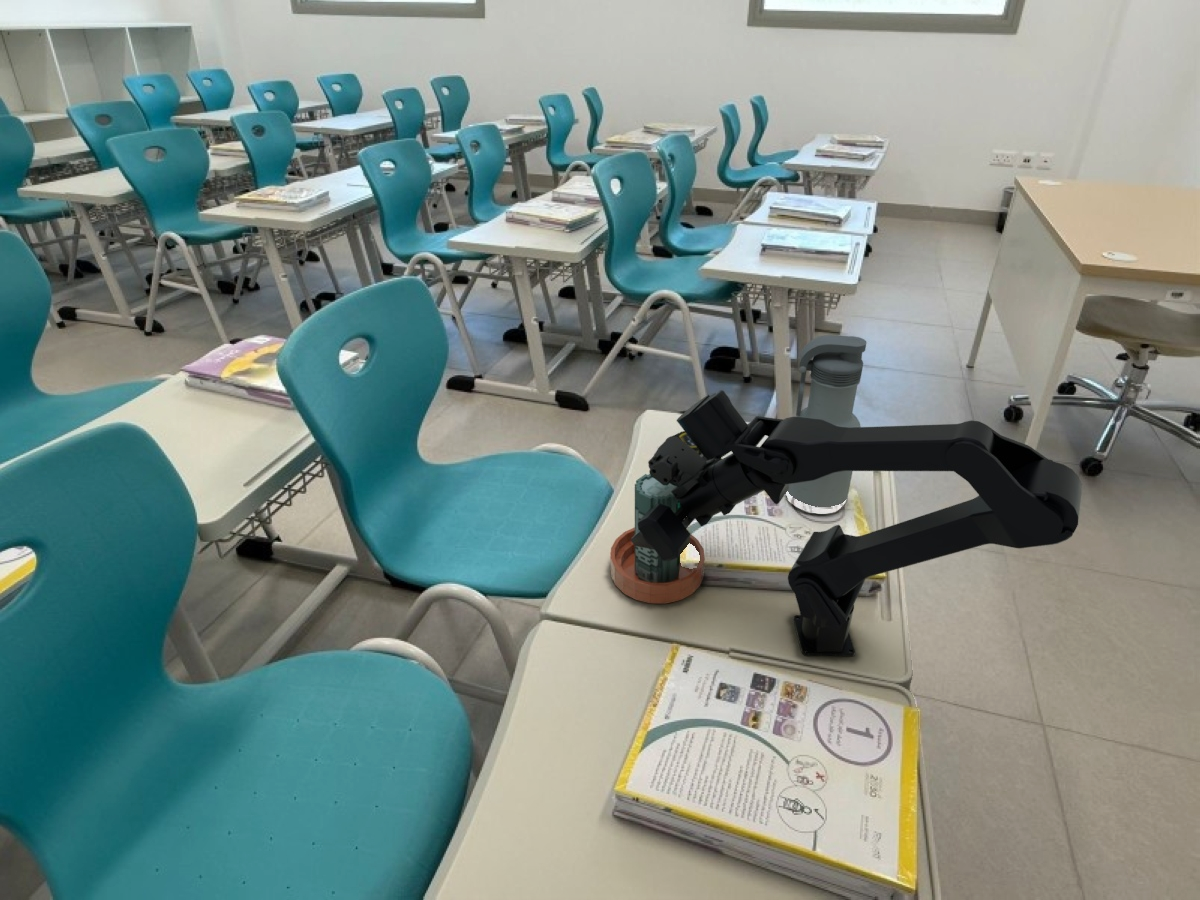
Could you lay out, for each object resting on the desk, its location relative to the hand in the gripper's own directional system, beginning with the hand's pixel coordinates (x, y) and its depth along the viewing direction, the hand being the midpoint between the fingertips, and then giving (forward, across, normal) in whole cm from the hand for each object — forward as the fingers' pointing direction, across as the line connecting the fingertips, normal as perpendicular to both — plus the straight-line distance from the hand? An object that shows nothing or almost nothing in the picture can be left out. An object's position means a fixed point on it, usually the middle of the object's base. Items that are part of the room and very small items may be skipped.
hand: (649, 523), depth 100 cm
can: (+5, 0, +7) cm, 8 cm away
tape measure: (+12, -29, 0) cm, 31 cm away
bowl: (+5, 0, +7) cm, 8 cm away
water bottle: (-5, -28, +17) cm, 33 cm away
